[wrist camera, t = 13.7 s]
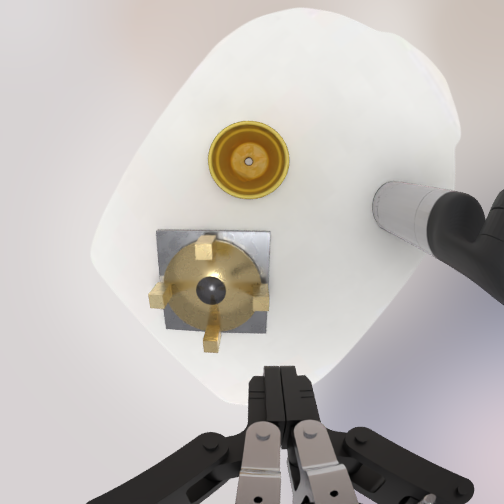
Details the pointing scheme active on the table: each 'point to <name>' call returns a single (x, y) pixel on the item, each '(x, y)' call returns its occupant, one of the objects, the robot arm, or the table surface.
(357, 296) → the table surface
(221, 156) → the plant pot
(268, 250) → the flange plate
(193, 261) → the pegged brass disc
